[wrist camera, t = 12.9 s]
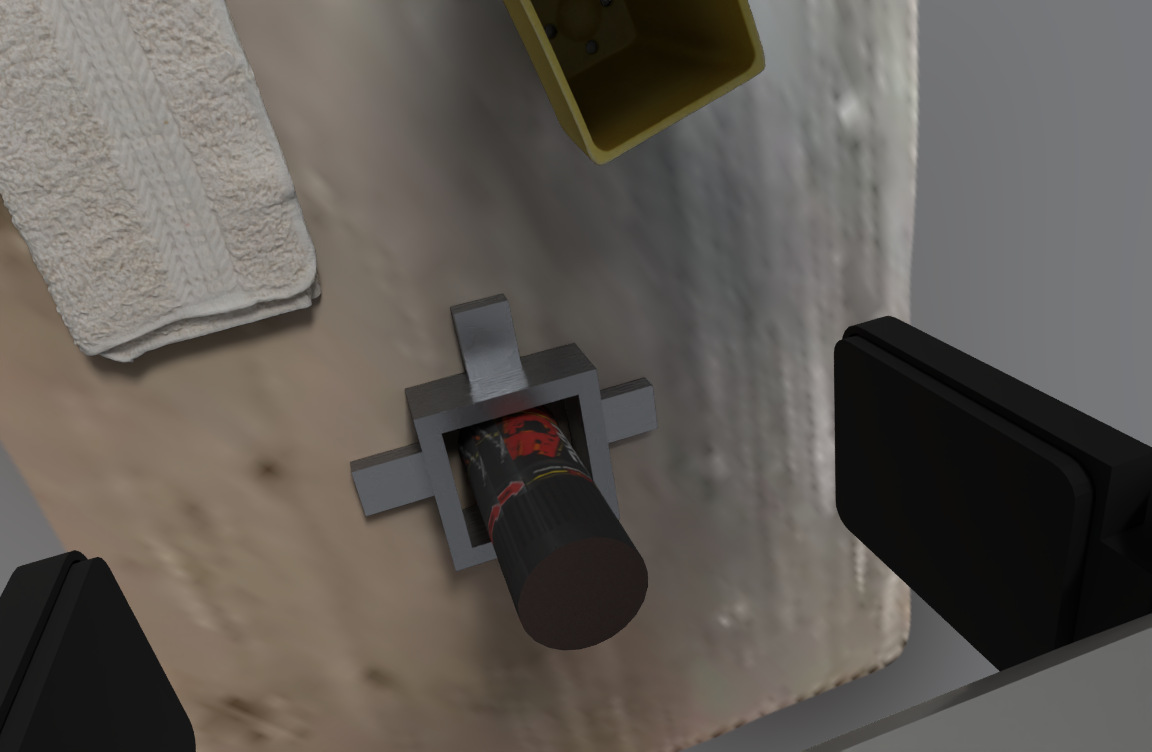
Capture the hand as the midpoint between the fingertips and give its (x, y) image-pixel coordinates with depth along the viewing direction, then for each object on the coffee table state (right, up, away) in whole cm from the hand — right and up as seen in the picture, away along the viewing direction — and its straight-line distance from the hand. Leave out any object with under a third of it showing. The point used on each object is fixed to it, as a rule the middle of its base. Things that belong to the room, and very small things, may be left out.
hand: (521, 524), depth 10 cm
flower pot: (+1, +20, +30) cm, 36 cm away
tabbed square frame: (-3, -2, +38) cm, 38 cm away
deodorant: (-3, -2, +38) cm, 38 cm away
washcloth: (-19, +12, +27) cm, 35 cm away
